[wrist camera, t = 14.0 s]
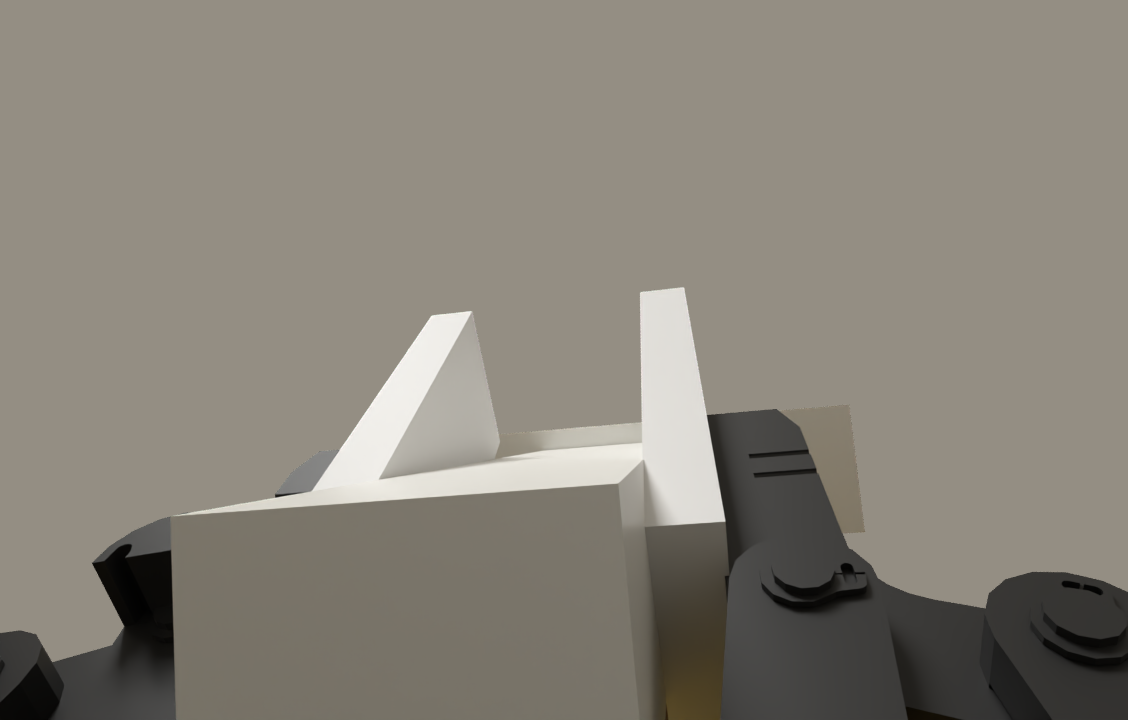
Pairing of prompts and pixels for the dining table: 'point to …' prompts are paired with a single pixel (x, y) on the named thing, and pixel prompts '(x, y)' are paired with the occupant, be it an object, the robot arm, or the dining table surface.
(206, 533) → the beige stepped block
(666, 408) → the robot arm
